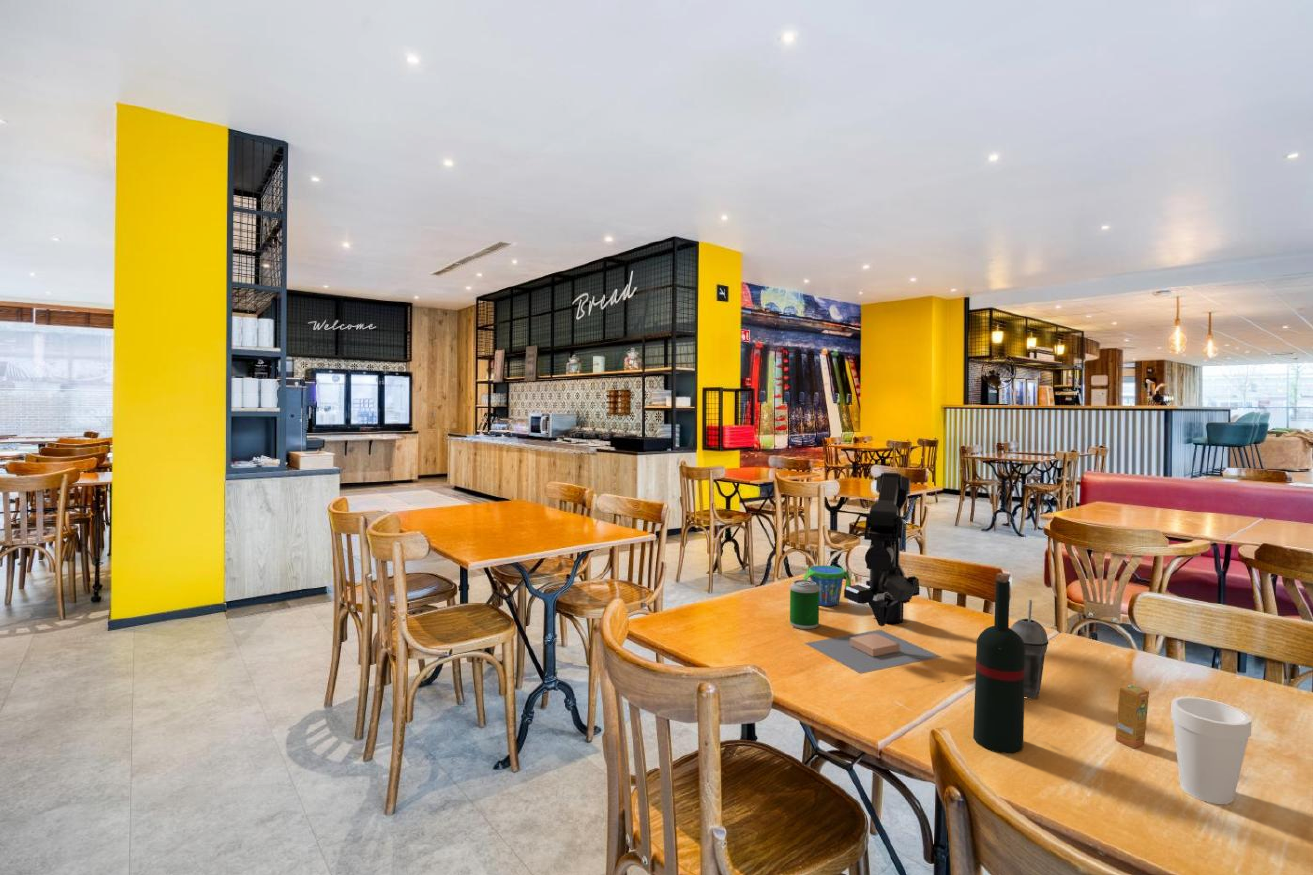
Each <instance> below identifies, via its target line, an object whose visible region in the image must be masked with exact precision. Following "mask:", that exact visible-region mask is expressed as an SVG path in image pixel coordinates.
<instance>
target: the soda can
mask: <svg viewBox="0 0 1313 875" xmlns="http://www.w3.org/2000/svg"><path fill="white" fill-rule="evenodd" d="M789 588H790V589H789V592H790V593H789V625H791V626H792V628H793V629H800V630H813V629H816V628H818V626H819V623H820V622H819V620H820V618H819V617H820V605H819V586H818V585H816V583H815V582H813V581H811V580H810V579H809V580H808V579H807V580H803V579H797V580H793V583H791V584H790V586H789Z"/></svg>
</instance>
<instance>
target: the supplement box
mask: <svg viewBox="0 0 1313 875" xmlns="http://www.w3.org/2000/svg"><path fill="white" fill-rule="evenodd" d="M1118 691H1119V692H1118V701H1117V711H1116V712H1117V713H1116V714H1117V715H1116V727H1115V740H1116V741H1117V742H1118V743H1121V744H1122V745H1124V746H1127V747H1129V748H1131V749H1136V748H1140V747H1142V746H1145V742H1146V741H1145V740H1146V728H1147V722H1148V721H1147V718H1148V710H1149V709H1148V708H1149V699H1150V691H1149V690H1147V689H1146V688H1144V687H1141V686H1138V685H1136V684H1133V683H1129V684H1128V685H1121V686H1119V690H1118Z"/></svg>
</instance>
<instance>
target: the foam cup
mask: <svg viewBox="0 0 1313 875" xmlns="http://www.w3.org/2000/svg"><path fill="white" fill-rule="evenodd" d="M1170 704H1171V707H1170V708H1171V709H1170V710H1171V711H1170V717H1171V720H1172V722H1173V730H1174V739H1175V742H1174V743H1175V748H1176V751H1175V752H1176V758H1177V767H1178V776H1179V783H1180V788H1181V789H1182V791H1184V792H1185V793H1186V794H1188V795H1189V794H1190V795H1189V796H1191V795H1192V796H1191V797H1193V798H1195V799H1196V800H1200V801H1202V800H1203V802H1205V801H1206V802H1205V803H1209V804H1213V805H1219V804H1225V805H1230V804H1232V803H1233V802H1234V798H1235V796H1236V792H1237V787H1238V784H1239V779H1240V774H1241V770H1242V766H1243V762H1244V759H1245V755H1246V754H1245V753H1246V749H1247V746H1248V741H1249V738H1251V736H1252V719H1251V716H1250V715H1249V714H1248V713H1246V712H1244V711H1243V710H1242V709H1240V708H1237V707H1235V706H1232V705H1229V704H1227V703H1225V702H1221V701H1217V700H1213V699H1209V698H1203V697H1196V696H1177V697H1174V698H1173V699H1171V703H1170ZM1232 801H1233V802H1232ZM1231 802H1232V803H1231ZM1229 803H1230V804H1229Z"/></svg>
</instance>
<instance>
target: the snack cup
mask: <svg viewBox="0 0 1313 875" xmlns="http://www.w3.org/2000/svg"><path fill="white" fill-rule="evenodd" d="M808 579H809V581H813V582H815V583H816V585H818V586H819V606H824V607H830V606H832V607H833V606H838V605H839V602H840V599H841V594H842V588H843V580H844V579H845V584H844V589H845V588H846V587H847V586H852V582H851V577H850V575H849V573H848V572H847V571H845V570H844V568H841V567H839V566H838V567H837V566H832V565H821V564H820V565H813V566H810V567H809V568H808V570H807V571H806V573H805V574H804V576H803V578H802V580H808Z"/></svg>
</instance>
